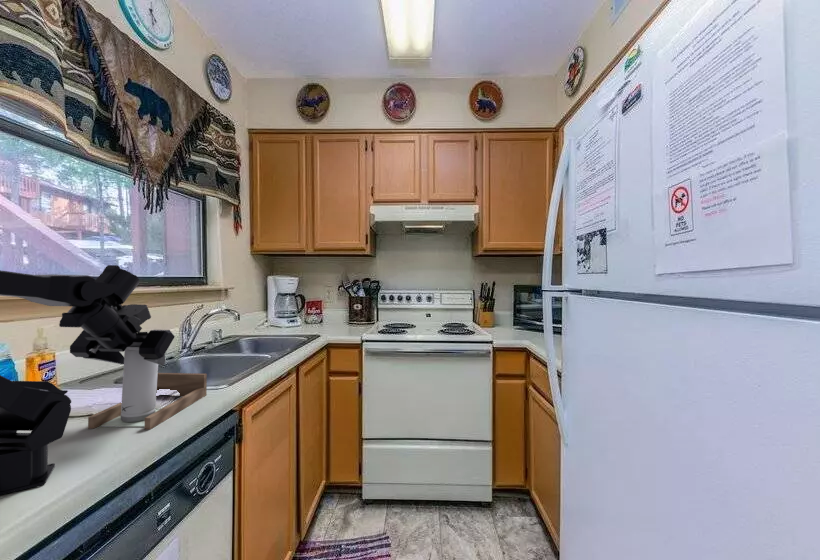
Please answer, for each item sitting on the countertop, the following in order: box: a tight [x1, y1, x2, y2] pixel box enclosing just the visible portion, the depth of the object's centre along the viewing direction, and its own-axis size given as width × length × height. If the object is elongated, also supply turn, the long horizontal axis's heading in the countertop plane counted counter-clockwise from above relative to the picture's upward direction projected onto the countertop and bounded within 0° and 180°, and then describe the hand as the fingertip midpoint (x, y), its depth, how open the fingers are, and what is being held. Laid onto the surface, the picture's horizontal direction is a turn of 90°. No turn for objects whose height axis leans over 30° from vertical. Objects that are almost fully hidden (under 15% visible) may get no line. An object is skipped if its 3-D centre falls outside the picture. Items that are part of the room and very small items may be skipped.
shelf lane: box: [87, 372, 208, 431], centre depth 83 cm, size 21×13×6 cm, turn 1°
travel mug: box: [120, 331, 159, 422], centre depth 78 cm, size 6×7×20 cm
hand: (144, 362), depth 79 cm, fingers open, 9 cm apart
